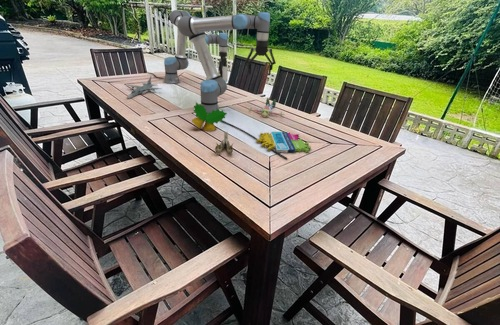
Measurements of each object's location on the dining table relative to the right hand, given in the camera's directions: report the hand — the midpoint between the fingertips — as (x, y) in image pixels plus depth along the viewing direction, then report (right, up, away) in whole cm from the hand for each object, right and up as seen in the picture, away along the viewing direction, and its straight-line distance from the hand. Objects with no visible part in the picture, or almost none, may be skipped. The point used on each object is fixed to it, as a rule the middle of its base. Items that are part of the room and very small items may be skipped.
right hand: (259, 74), depth 177 cm
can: (-33, +19, +74) cm, 83 cm away
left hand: (-33, +22, +72) cm, 82 cm away
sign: (+12, -49, -25) cm, 56 cm away
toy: (+7, -21, +24) cm, 32 cm away
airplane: (-99, 0, +48) cm, 110 cm away
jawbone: (-20, -54, -39) cm, 70 cm away
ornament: (-32, -39, -13) cm, 52 cm away
